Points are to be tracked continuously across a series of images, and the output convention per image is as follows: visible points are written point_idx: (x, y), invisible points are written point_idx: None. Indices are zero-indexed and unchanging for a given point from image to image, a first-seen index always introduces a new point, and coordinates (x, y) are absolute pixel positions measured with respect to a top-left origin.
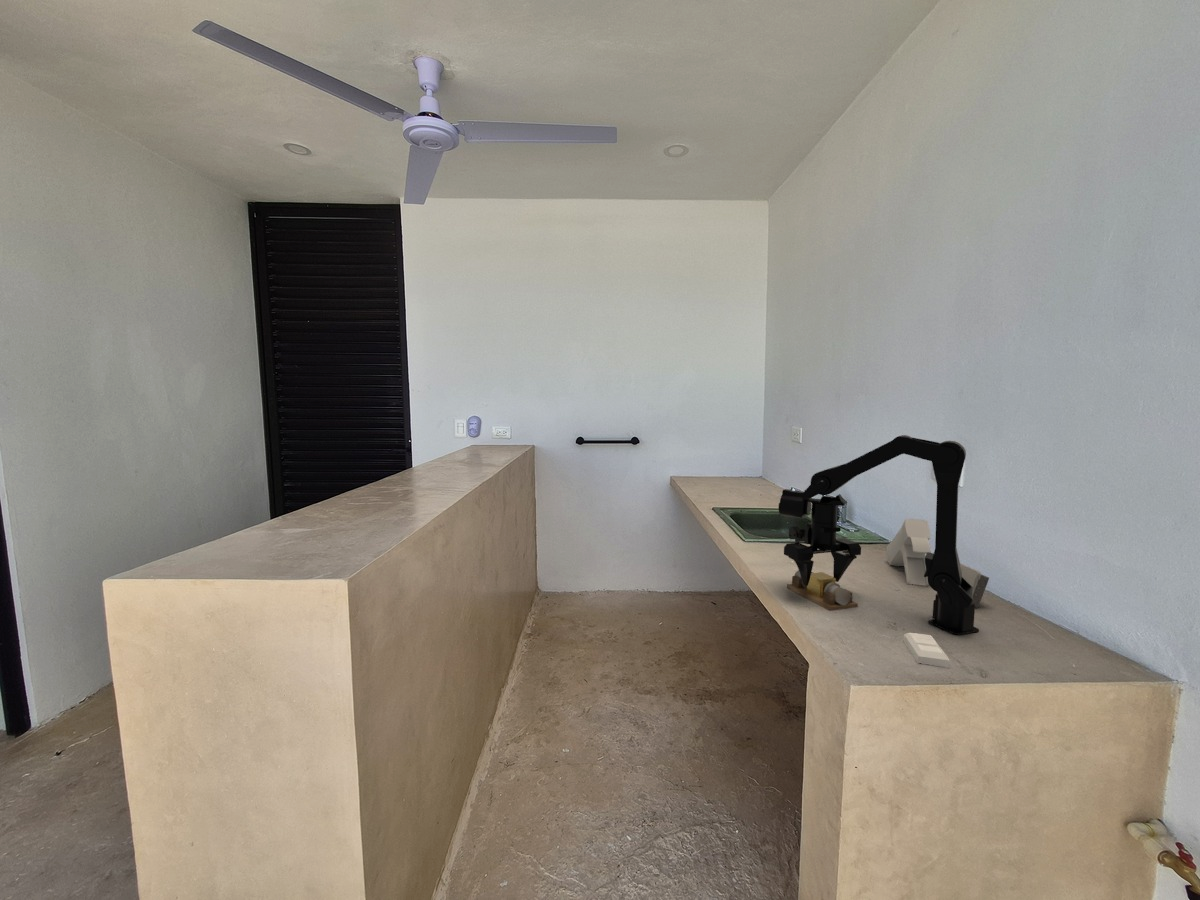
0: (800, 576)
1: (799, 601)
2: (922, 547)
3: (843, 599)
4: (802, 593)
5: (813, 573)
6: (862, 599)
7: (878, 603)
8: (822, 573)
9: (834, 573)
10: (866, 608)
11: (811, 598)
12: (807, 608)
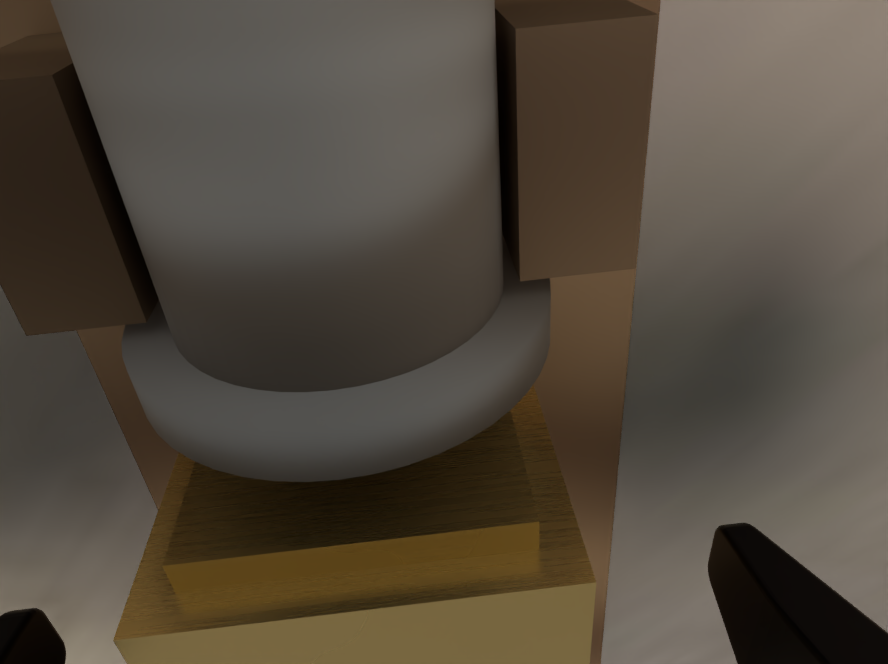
0: (132, 225)
1: (4, 501)
2: None
3: None
4: (110, 393)
5: (294, 634)
6: (812, 522)
7: (854, 598)
8: (521, 647)
9: (790, 655)
10: (636, 660)
11: None
12: None
